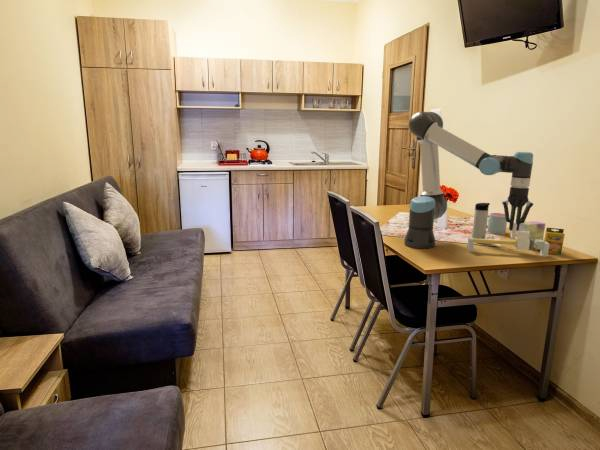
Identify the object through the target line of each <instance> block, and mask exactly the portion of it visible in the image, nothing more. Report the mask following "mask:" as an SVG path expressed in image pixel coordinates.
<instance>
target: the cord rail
mask: <svg viewBox="0 0 600 450" xmlns="http://www.w3.org/2000/svg"><path fill="white" fill-rule="evenodd" d="M529 240H530V245H529V250H534V249H535V250H540V252H539V254H540V255H541V256H542V257H545V258H546V257H548V255H549V253H548V251H549V243H548V242H545V241H544V239H543V240H537V239H535V242H534V240H533V239H529ZM476 243H477V244H489V245H490V244H491V245H492V244H494V245H509V246H510V245H511V246H514V245H517V241H515V240H508V239H507V240H505V239H491V238H490V239H489V238H485V239H475V238H473V237H472V236H468V238H467V249H466V251H468V253H469V252H472V253H473V252H474V246H475V244H476Z"/></svg>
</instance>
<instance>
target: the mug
mask: <svg viewBox="0 0 600 450" xmlns="http://www.w3.org/2000/svg"><path fill="white" fill-rule="evenodd" d="M487 219H488V221H487V223H488V224H487V226H486V229H487V230H486V233H487V232H488V233H489V234H494V235H505V234H506V232H507V231H506V230H507V226H508V225H507V224H508V222H507V221H506V219H505V213H501V212H490V213H488V217H487Z"/></svg>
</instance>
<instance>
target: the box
mask: <svg viewBox="0 0 600 450" xmlns="http://www.w3.org/2000/svg"><path fill="white" fill-rule="evenodd" d="M545 227H546V223H544V222H542V221H536V220H535V221H525V222H524V223H520V225H519V230H518V231H526V232H530V235H529V239H533V240H534V242H535V239H537V240H543V241H544V237H545V229H546V228H545Z"/></svg>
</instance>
